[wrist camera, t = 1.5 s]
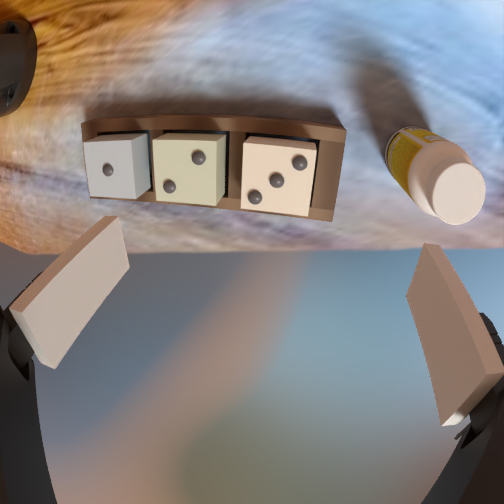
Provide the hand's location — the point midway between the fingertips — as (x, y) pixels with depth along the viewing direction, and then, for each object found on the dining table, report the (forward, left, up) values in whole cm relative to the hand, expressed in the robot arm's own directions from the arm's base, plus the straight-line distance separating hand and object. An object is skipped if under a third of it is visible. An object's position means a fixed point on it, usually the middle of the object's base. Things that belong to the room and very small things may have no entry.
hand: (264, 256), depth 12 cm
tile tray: (-9, -1, -19) cm, 21 cm away
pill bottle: (+12, +2, -19) cm, 23 cm away
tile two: (-8, -1, -17) cm, 19 cm away
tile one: (-16, -1, -17) cm, 23 cm away
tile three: (0, -1, -17) cm, 17 cm away
